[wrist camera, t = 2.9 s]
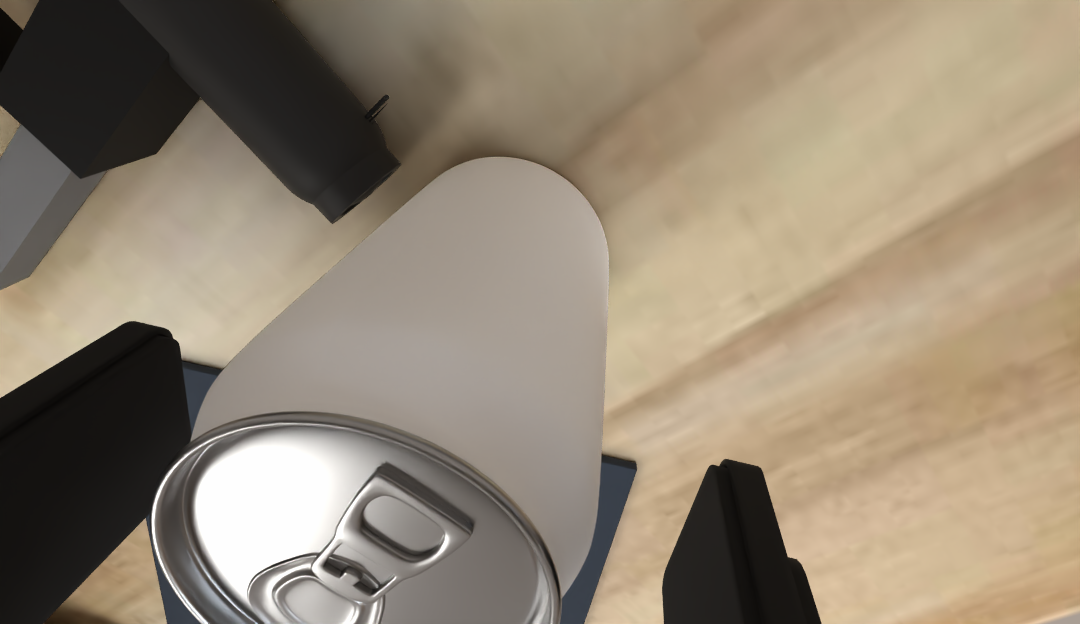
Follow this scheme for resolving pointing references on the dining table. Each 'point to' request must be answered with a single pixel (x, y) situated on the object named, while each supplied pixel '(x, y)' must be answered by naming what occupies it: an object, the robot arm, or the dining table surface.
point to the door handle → (167, 106)
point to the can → (409, 424)
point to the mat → (574, 602)
